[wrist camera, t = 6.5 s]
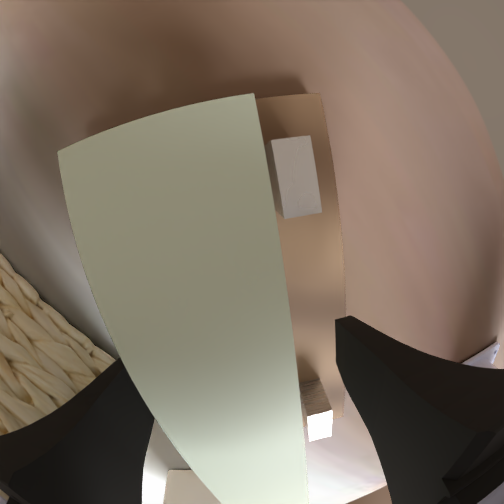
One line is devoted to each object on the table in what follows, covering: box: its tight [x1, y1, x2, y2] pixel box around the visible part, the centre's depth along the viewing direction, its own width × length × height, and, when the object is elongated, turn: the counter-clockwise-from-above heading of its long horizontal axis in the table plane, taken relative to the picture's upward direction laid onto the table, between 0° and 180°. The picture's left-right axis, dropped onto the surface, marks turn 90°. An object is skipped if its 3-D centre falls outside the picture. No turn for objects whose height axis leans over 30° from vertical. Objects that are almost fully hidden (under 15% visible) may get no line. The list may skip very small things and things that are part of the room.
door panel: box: [57, 93, 309, 504], centre depth 9 cm, size 14×3×7 cm, turn 10°
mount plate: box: [255, 93, 346, 427], centre depth 13 cm, size 18×10×1 cm, turn 10°
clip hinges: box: [264, 135, 332, 441], centre depth 11 cm, size 14×7×2 cm, turn 10°
